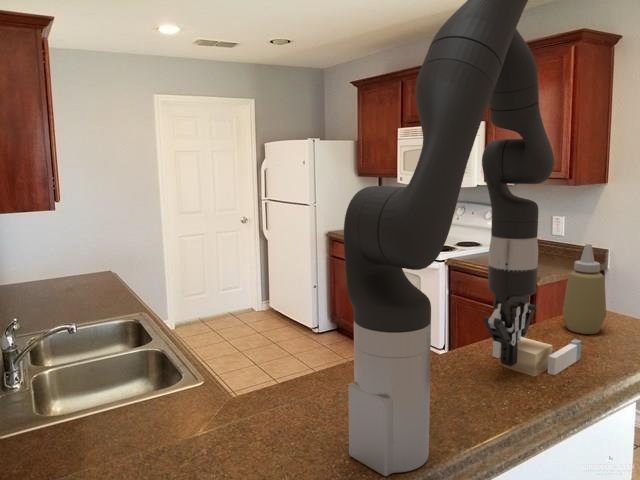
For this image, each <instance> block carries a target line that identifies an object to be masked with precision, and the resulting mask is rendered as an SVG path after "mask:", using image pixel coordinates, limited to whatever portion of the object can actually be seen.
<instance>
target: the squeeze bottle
mask: <svg viewBox="0 0 640 480" xmlns="http://www.w3.org/2000/svg"><path fill="white" fill-rule="evenodd" d="M593 250H594V249H593V245H592V244H585V245H584V248H583V251H582V254H581V257H580V260H575V261H574V266H573V268H574V270H572V271H571V272H569V273H568V277H567V282H566V283H567V284H566V288H565V293H564V301H563V304H562V305H563V306H562V314H563V318H564V320H565V325H566V328H567V329H568V330H569V331H571V332H573V333H577V334H583V335H595V334H598V333H599V332H600V330H601V328H602V325H603V324H604V321H605V319H606V317H607V305H606V301H607V300H606V279H605V276H604V274H603V273H601V272H600V271H601V263H600V262H598V261H595V256H594V251H593Z"/></svg>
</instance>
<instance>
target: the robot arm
mask: <svg viewBox="0 0 640 480" xmlns="http://www.w3.org/2000/svg"><path fill="white" fill-rule="evenodd" d="M528 1H529V0H466V1H465V2H464V3H463V4H462V5H461V6H460V7H459V8H458V9H456V10H455V12H454V13H453V14H452V15H451V16H450V17H449V18H448V19H447V20H446V21H445V22H444V24H443V25H442V26H441V27H440V28H439V30H438V31H437V33H435V35H434V37H433V39H432V41H431V43H430V45H429V48H428V50H427V52H426V55H425V57H424V60H423V63H422V65H421V68H420V70H419V72H418V75H417V77H416V81H415V89H414V94H415V97H414V98H415V104H416V109H417V114H418V119H419V122H420V126H421V132H422V148H421V152H420V155H419V156H418V157H419V159H418V161H417V165H416V167H415V169H414V172H413V174H412V176H411V179H410V181H409V182H408V184H407V185H406V186H391V185H388V186H387V185H369V186H365V187H363V188H362V189H359V190H358V191H357V192H356V193H355V194H354V195H353V196H352V198H351V200H350V201H349V203H348V206H347V209H346V213H345V215H344V223H343V250H344V251H343V252H344V253H343V254H344V268H345V282H346V283H345V284H346V293H347V296H348V300H349V302H350V304H351V306H352V311H353V378H354V379H353V382H350V383H349V384H348V389H347V390H348V391H347V392H348V395H347V396H348V455H349V457H351V458H353V459H355V460H357V461H358V462H360V463H361V464H363V465H365V466H366V467H368V468H370V469H371V470H374V471H375V472H377V473H378V474H381V476H384V477H388V476H389V475H391V474H394V473H405V472H410V471H413V470H417V469H419V468H421V467H422V466H423V465H425V464H426V462H428V459H429V454H430V450H429V449H430V410H431V409H430V404H431V403H430V399H431V397H430V395H431V347H432V345H431V343H432V340H431V338H432V337H431V336H432V304H431V300H430V299H429V297H428V296H427V295H426V293H425V292H423V291H422V290H420V289H419V288H418V287H417V286H416V285H414V284H413V283H412V281H410V279H409V278H408V277H407V275H406V274H405V272H404V270H403V269H406V270H410V271H411V270H413V271H419V270H424V269H426V268H429V266H431V265H432V264H433V263H434V262H435V261H436V260H437V259H438V257H439V256H440V254H441V252H442V250H443V249H444V246H445V244H446V242H447V239H448V237H449V233H450V230H451V227H452V223H453V219H454V216H455V212H456V207H457V204H458V199H459V197H460V192H461V188H462V185H463V184H462V183H463V180H464V176H465V172H466V170H467V165H468V162H469V159H470V156H471V152H472V150H473V147H474V144H475V141H476V138H477V135H478V132H479V129H480V127H481V123H482V121H483V118H484V115H485V112H486V110H487V108H489V109H488V110H489V111H488V112H489V117H490V118H489V119H490V121H491V122H490V123H492V125H493V126H495V127H496V128H500V129H502V130H508V131H513V132H515V133H517V134H518V135H519V136H520V137H521V138H513V139H512V138H511V139H508V138H507V139H505V138H504V139H495V140H492V141H490V142H489V143H488V144H487V145H486V147H484V150H483V152H482V155H481V156H482V157H481V167H482V168H481V169H482V172H483V176H484V179H485V183H486V187H487V191H488V195H489V196H488V197H489V200H490V206H491V207H490V209H491V236H490V242H489V249H488V267H487V268H488V271H487V273H488V275H487V290H488V291H490V292H491V293H493V295H494V301H493V304H492V308H493V312H492V314H491V315H490V316H489V315H485V316H484V319H483V320H484V321H483V322H484V324H485V326H486V329H487V331H488V332H489V334H490V336H491V338H492V341H496V342H500V343H501V357H500V363H501V365H502V364H504V365H507V366H513V365H515V364H516V363H517V350H518V343H520V340H521V336H522V337H525V335H526V336H527V333H528V329H529V327H530V324H531V321H532V319H533V316H534V313H535V311H536V305H535V304H531V303H529V300H530V298H529V297H530V296H532V295H534V294H536V293H537V285H538V284H537V283H538V269H539V268H538V262H539V244H538V233H539V231H538V230H539V204H538V203H537V202H535V201H534V200H532V199H528V198H525V197H524V198H523V197H520V196H517V195H514V194H513V193H512V192H511V190H510V188H509V186H508V185H509V184H513V185H514V184H515V185H517V184H518V185H519V184H520V185H538V184H542V183H544V182H545V181H547V180H548V179H549V178H550V176H552V174H553V171H554V167H555V156H554V151H553V147H552V145H551V142H550V140H549V136H548V135H547V133H546V132H547V131H546V129H545V127H544V122H543V120H542V115H541V112H540V111H541V110H540V97H539V95H540V94H539V75H538V74H539V73H538V68H537V67H538V66H537V62H536V59H535V57H534V55H533V52H532V51H531V49H530V47H529V45H528V43H526V40H525V39H524V38H523V36H522V35H521V33H520V32H519V30H518V29H517V27H518V24H519V22H520V20H521V18H522V15H523V12H524V10H525V8H526V6H527V4H528Z"/></svg>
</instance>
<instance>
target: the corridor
mask: <svg viewBox="0 0 640 480" xmlns="http://www.w3.org/2000/svg"><path fill="white" fill-rule="evenodd" d="M521 337H522V336H521ZM523 338H527V334H526V335H525V337H523ZM581 350H582V340H579V339H575V338H574V339H572V340H571V341H570V343H569V344H567V345H566V346H564V347H562V348H560V349H558V350H557V351H555V352H552V354H551V355H550V356H549V357H548V369H547V374H549V375H553V376H556V375H558V374H559V373H561V372H562V371H564V370H565V369H566V368H568V367H570V366H571V365H573V364H575V363H576V362H578V361H579V360H580V359H581V354H582V353H581V352H582V351H581ZM492 357H493V358H496V359H501V343H500V342H496V341H494V340H492Z"/></svg>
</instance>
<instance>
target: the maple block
mask: <svg viewBox="0 0 640 480" xmlns="http://www.w3.org/2000/svg"><path fill="white" fill-rule="evenodd" d="M553 348H554V347H553V344H549V343H545V342H541V341H537V340H534V339H531V338H530V339H529V338H527V337H526V338H523V337H521V340H520V343H518V350H517V363H516V364H515V365H513V366H507V365H504V364H502V363H501V367H503V368H506V369H510V370H513V371H515V372H519V373H522V374H525V375H529V376H531V377H536V376H538V375H540V374H542V373H543V372H544V371H546V370H548V357H549V356H550V355H551V354H553Z"/></svg>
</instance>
